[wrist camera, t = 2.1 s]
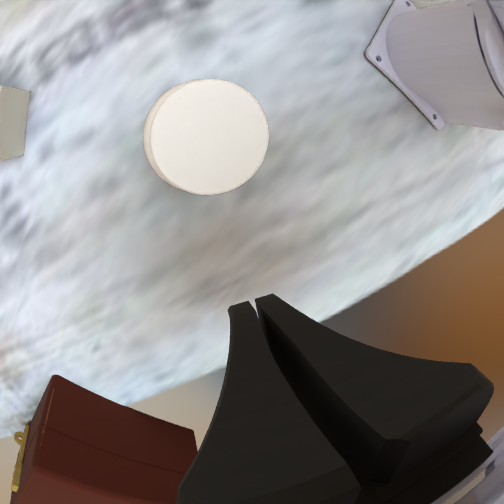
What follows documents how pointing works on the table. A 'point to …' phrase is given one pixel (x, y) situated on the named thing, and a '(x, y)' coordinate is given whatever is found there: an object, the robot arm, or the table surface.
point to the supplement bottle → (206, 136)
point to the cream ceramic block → (13, 121)
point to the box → (98, 452)
